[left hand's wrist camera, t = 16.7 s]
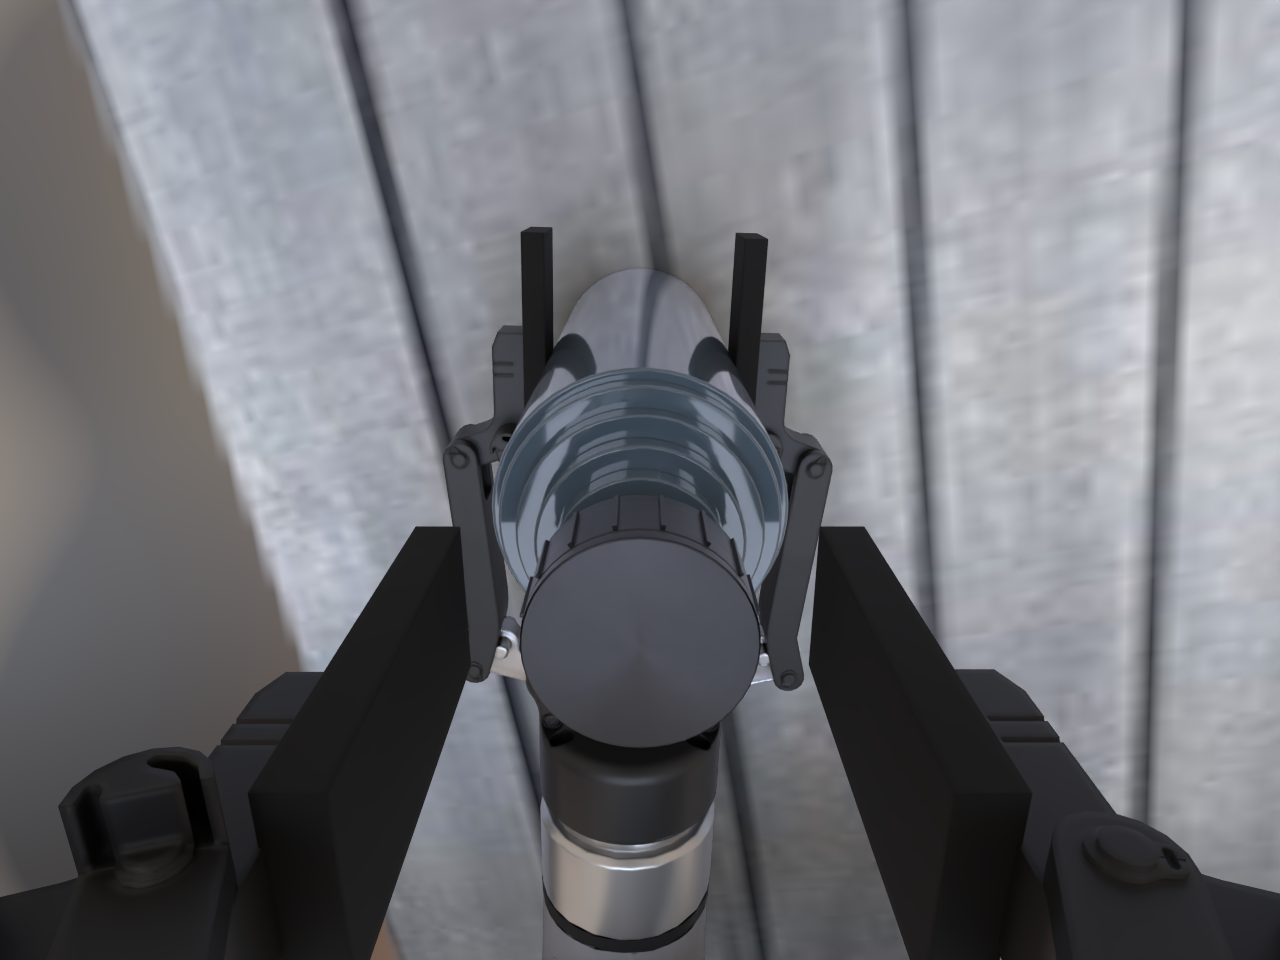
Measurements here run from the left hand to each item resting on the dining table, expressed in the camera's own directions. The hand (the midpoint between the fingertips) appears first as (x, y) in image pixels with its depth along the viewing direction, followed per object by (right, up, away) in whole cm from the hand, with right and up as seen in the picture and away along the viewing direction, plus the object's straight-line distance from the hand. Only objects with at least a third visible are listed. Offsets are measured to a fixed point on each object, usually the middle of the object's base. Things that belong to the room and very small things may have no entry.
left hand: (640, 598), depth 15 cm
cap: (0, 0, -1) cm, 1 cm away
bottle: (0, +8, +22) cm, 23 cm away
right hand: (0, +10, +14) cm, 17 cm away
